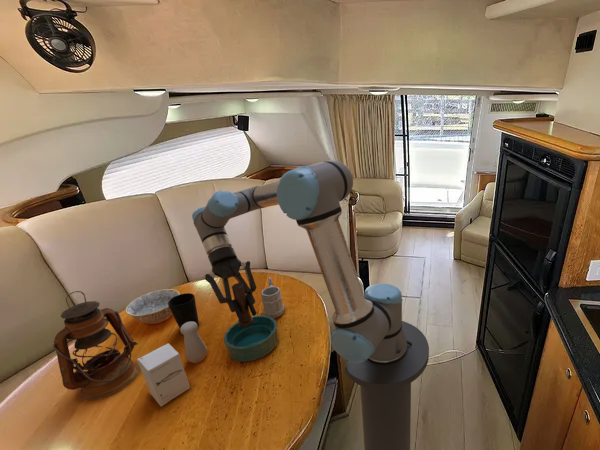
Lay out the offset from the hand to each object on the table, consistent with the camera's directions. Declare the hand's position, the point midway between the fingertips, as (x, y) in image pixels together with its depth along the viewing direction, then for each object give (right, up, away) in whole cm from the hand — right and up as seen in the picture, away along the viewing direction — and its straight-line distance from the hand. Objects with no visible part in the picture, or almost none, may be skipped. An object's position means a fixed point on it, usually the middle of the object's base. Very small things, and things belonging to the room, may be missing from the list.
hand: (247, 317), depth 95 cm
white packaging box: (-17, -18, -9) cm, 27 cm away
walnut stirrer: (-3, -3, +4) cm, 6 cm away
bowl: (-43, -7, +21) cm, 49 cm away
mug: (-2, -5, +25) cm, 26 cm away
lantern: (-37, -17, -5) cm, 41 cm away
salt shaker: (-17, -14, +3) cm, 22 cm away
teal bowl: (-2, -12, +8) cm, 14 cm away
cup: (-28, -9, +16) cm, 34 cm away
